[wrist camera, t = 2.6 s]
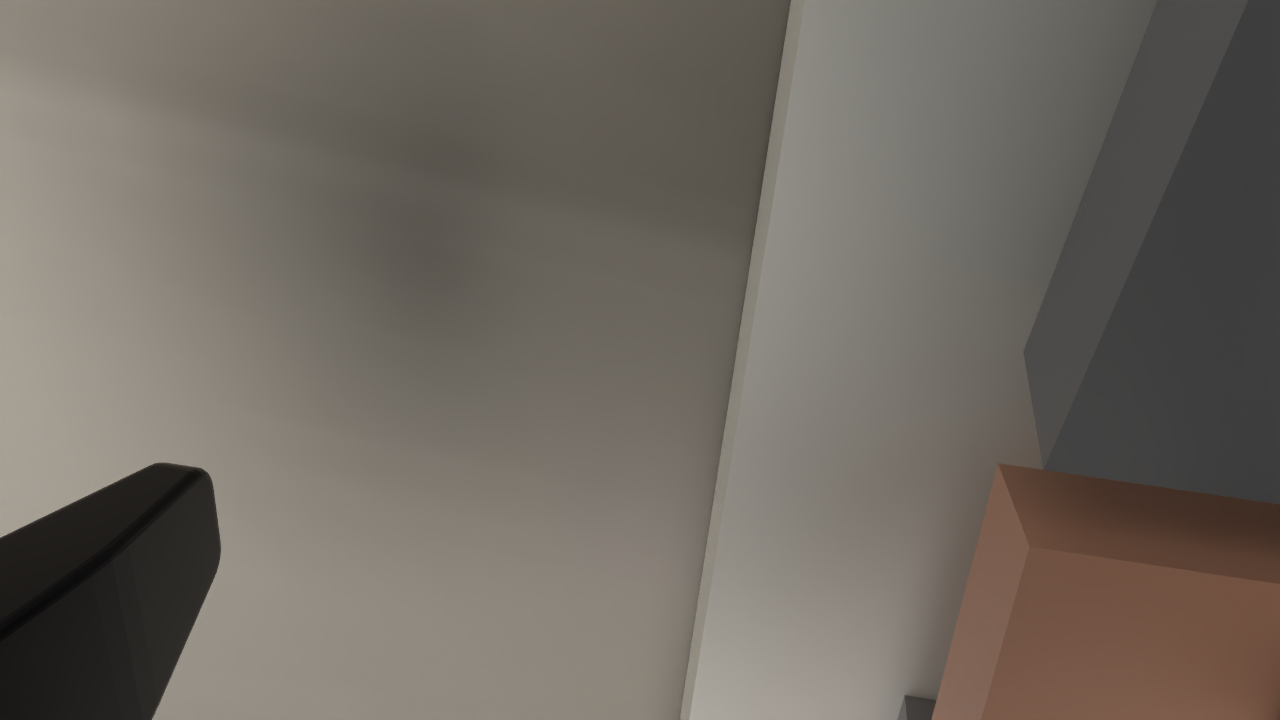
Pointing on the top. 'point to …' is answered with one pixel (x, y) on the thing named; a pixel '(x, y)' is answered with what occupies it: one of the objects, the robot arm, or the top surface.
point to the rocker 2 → (1116, 605)
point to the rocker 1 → (1174, 270)
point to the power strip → (891, 338)
